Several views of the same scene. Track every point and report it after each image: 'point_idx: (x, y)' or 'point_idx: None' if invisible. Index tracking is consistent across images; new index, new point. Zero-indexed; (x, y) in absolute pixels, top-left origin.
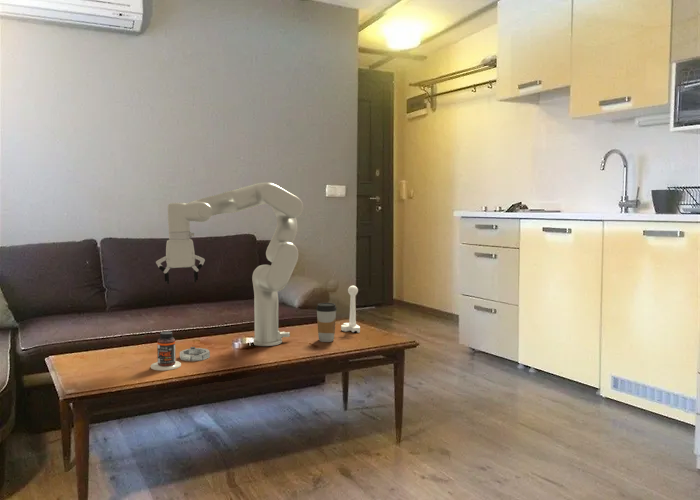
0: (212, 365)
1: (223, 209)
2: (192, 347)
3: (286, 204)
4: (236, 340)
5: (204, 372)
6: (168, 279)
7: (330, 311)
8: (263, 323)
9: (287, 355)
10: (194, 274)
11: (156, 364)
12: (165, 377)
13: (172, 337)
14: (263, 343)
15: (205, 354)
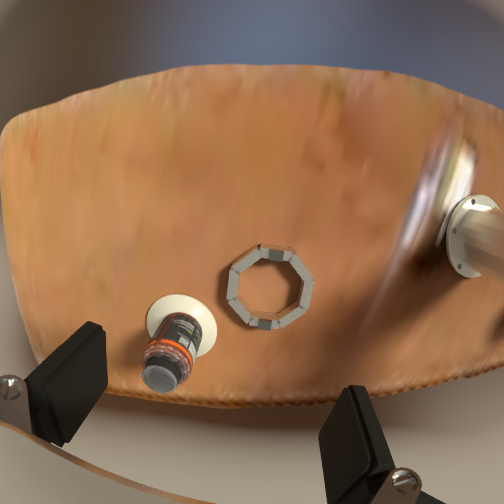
0: (283, 368)
1: None
2: (274, 257)
3: None
4: (433, 164)
5: (250, 399)
6: (88, 407)
7: None
8: (494, 279)
9: (443, 357)
10: (330, 488)
11: (160, 316)
12: None
13: (180, 377)
14: (459, 269)
15: (290, 321)
